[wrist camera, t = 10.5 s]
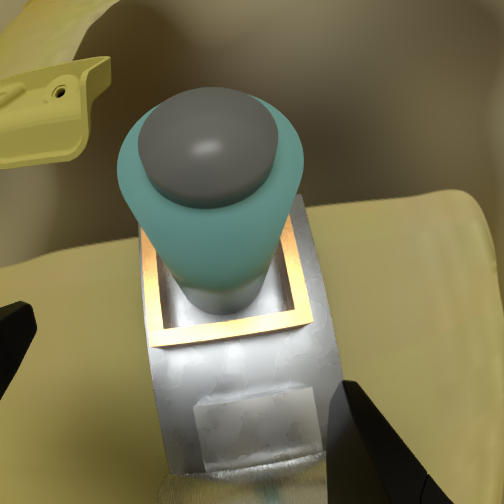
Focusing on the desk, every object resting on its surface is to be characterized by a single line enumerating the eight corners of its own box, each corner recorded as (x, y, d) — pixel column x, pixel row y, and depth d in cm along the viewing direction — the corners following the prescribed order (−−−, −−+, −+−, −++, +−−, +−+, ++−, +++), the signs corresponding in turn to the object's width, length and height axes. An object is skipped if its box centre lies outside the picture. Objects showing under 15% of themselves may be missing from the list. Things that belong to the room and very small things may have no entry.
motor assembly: (356, 514, 15) (411, 570, 7) (196, 543, 14) (180, 616, 6) (297, 204, 23) (325, 125, 15) (143, 225, 22) (102, 153, 14)
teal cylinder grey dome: (271, 307, 19) (334, 210, 7) (183, 320, 18) (103, 241, 7) (256, 226, 20) (284, 66, 9) (174, 237, 20) (117, 86, 8)
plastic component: (116, 54, 26) (80, 76, 19) (120, 117, 31) (91, 159, 24) (-25, 87, 23) (-74, 121, 16) (-14, 138, 28) (-56, 181, 21)
